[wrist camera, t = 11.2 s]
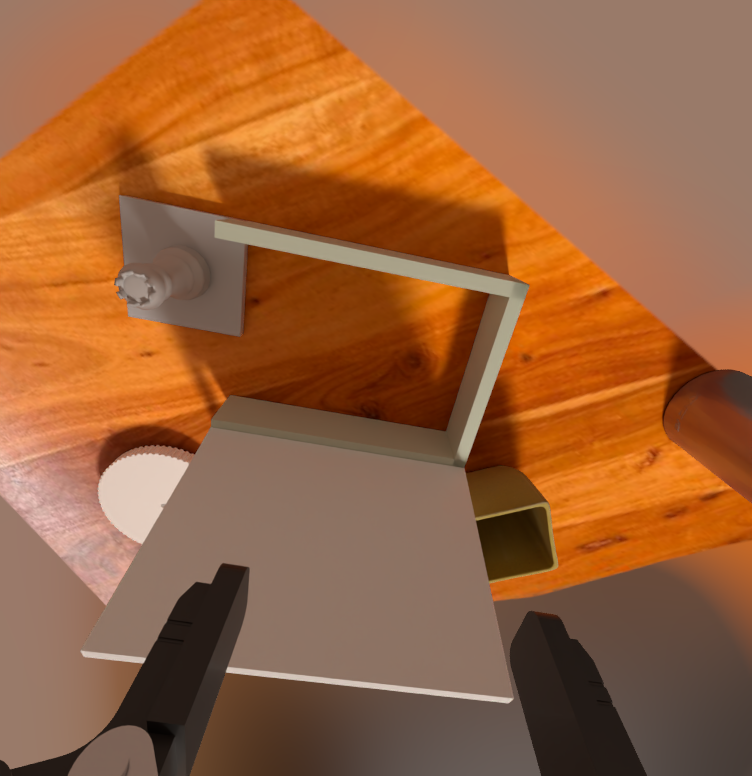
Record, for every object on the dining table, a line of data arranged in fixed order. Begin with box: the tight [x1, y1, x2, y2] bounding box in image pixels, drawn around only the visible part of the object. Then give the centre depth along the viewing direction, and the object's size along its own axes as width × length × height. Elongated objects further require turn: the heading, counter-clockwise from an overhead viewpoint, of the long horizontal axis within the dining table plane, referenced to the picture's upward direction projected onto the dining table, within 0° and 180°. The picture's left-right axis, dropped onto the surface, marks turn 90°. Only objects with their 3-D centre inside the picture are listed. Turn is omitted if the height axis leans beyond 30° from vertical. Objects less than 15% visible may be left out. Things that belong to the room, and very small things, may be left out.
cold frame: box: [211, 219, 529, 468], centre depth 33 cm, size 24×24×12 cm
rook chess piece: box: [114, 245, 211, 310], centre depth 30 cm, size 4×4×8 cm
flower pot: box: [466, 465, 558, 583], centre depth 40 cm, size 9×9×9 cm
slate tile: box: [119, 195, 248, 337], centre depth 34 cm, size 10×10×1 cm
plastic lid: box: [98, 445, 195, 544], centre depth 44 cm, size 14×14×2 cm
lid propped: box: [80, 427, 514, 703], centre depth 29 cm, size 24×4×18 cm, turn 79°
